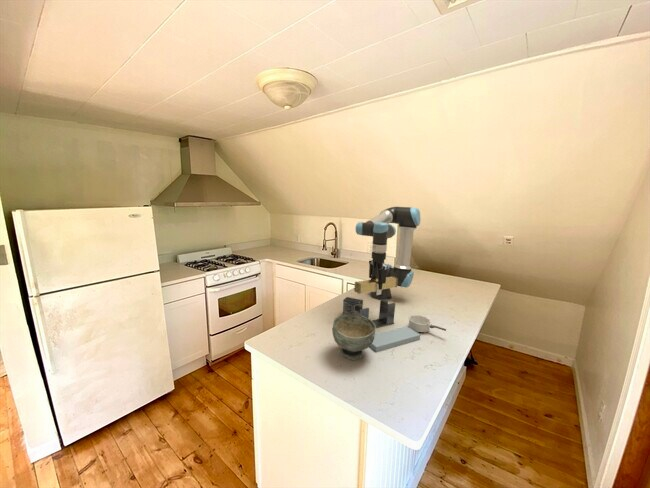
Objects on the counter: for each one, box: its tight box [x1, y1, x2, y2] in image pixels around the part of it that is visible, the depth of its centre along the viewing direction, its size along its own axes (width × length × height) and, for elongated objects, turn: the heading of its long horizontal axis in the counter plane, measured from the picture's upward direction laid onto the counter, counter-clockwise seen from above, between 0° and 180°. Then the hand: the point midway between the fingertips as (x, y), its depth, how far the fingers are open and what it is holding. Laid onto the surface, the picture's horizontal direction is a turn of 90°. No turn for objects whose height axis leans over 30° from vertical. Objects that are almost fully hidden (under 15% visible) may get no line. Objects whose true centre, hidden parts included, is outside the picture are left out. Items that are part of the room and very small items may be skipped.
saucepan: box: [408, 314, 447, 333], centre depth 146 cm, size 12×20×6 cm, turn 45°
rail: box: [354, 276, 398, 295], centre depth 148 cm, size 4×26×5 cm, turn 117°
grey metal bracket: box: [353, 299, 396, 329], centre depth 151 cm, size 7×24×12 cm, turn 117°
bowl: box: [331, 314, 377, 361], centre depth 122 cm, size 20×19×15 cm
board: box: [369, 325, 421, 353], centre depth 136 cm, size 10×28×2 cm, turn 117°
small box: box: [342, 296, 364, 315], centre depth 161 cm, size 11×6×10 cm, turn 65°
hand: (376, 292), depth 149 cm, fingers closed on rail, 4 cm apart
